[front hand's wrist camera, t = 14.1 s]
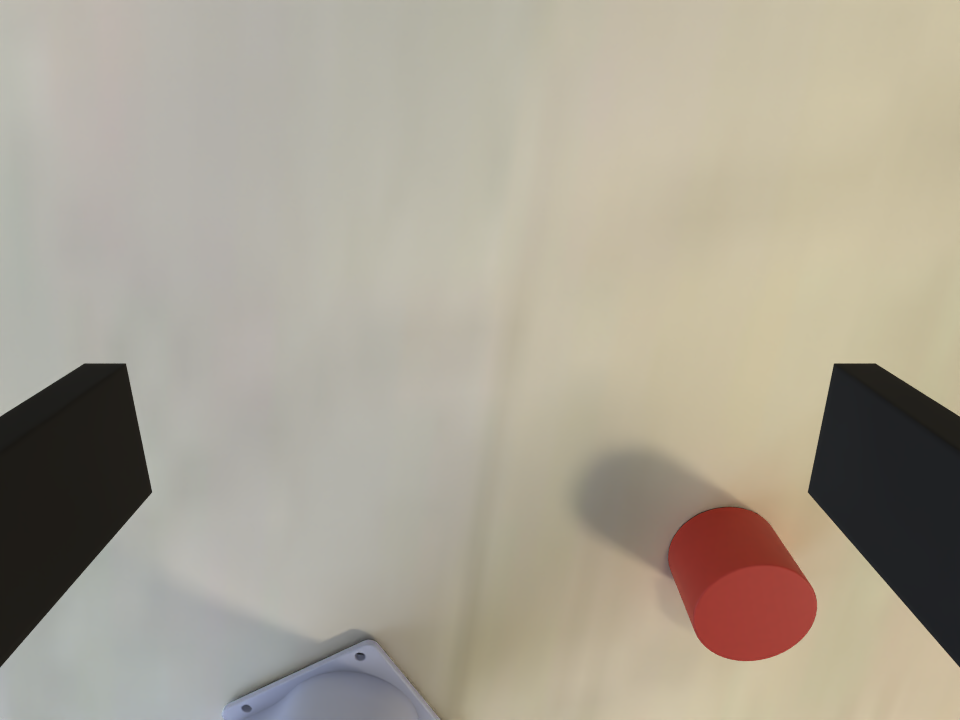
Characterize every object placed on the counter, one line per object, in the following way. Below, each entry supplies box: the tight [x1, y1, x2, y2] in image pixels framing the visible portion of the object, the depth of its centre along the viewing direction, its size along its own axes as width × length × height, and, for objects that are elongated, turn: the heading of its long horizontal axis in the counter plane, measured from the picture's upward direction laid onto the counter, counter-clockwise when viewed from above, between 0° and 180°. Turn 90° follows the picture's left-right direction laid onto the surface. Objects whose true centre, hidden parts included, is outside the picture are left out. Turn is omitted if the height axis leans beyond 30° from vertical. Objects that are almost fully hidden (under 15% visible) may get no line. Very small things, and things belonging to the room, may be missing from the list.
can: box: [668, 507, 817, 661], centre depth 29 cm, size 5×5×4 cm
